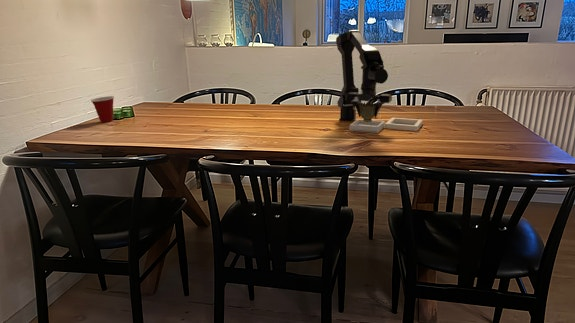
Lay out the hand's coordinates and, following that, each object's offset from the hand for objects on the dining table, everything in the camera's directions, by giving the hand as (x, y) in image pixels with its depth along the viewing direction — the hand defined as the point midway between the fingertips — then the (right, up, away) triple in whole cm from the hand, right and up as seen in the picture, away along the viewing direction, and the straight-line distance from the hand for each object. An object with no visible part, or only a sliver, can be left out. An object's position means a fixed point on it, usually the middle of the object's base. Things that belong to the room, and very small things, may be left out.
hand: (367, 117), depth 170 cm
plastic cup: (-126, +1, +29) cm, 129 cm away
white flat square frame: (+17, -3, +4) cm, 18 cm away
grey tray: (0, -5, +1) cm, 5 cm away
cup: (0, -2, +1) cm, 2 cm away
